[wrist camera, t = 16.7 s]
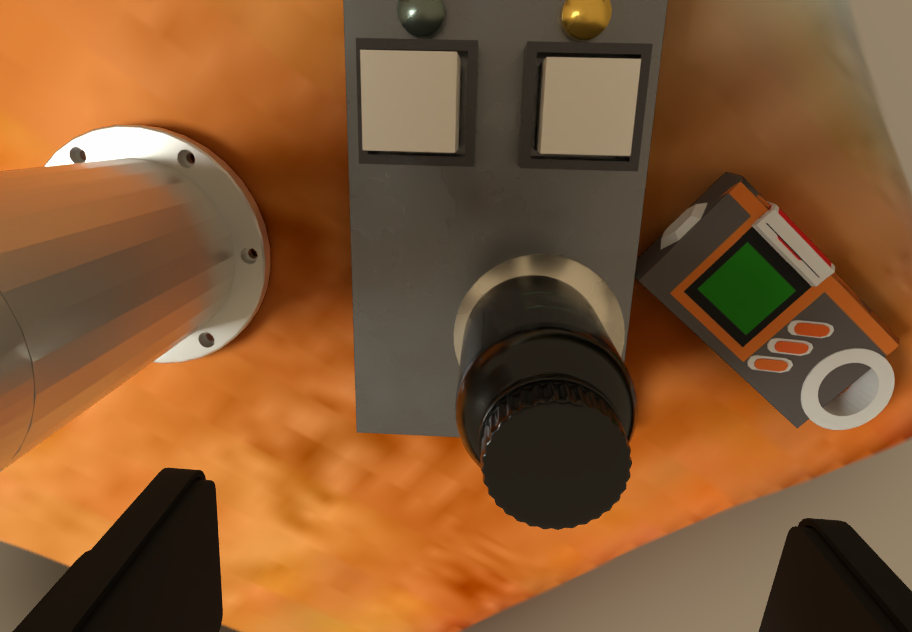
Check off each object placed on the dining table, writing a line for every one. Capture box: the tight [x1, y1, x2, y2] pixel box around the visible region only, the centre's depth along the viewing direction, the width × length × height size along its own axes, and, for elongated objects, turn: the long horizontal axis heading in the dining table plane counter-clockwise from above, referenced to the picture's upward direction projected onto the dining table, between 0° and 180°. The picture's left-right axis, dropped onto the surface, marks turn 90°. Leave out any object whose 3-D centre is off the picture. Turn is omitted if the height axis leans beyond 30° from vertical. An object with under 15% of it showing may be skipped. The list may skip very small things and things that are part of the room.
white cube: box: [534, 57, 641, 156], centre depth 25 cm, size 4×4×4 cm
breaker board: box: [343, 0, 668, 437], centre depth 29 cm, size 14×22×4 cm, turn 179°
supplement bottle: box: [455, 275, 638, 530], centre depth 25 cm, size 7×7×12 cm
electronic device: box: [635, 172, 900, 430], centre depth 31 cm, size 7×3×15 cm
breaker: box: [360, 50, 461, 153], centre depth 24 cm, size 4×4×4 cm
